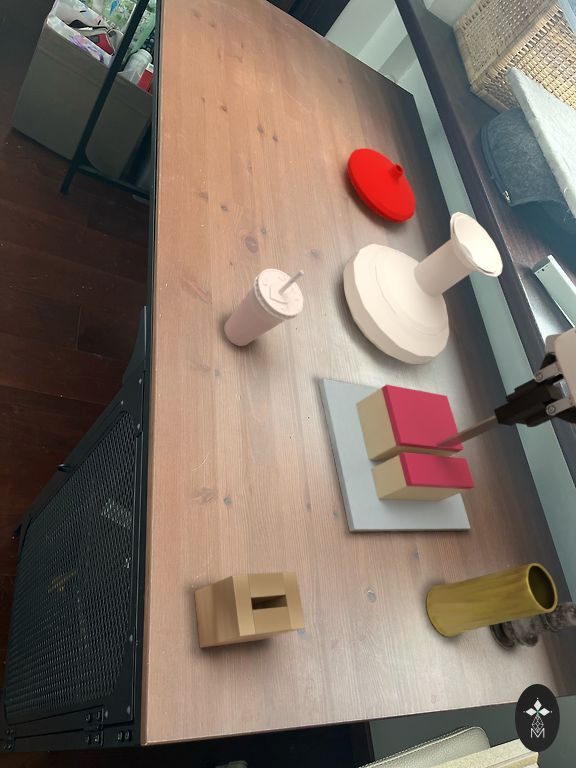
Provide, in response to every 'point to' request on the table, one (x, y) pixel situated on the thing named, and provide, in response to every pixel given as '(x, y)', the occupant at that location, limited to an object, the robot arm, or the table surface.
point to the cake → (406, 423)
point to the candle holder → (414, 290)
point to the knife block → (248, 608)
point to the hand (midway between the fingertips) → (517, 410)
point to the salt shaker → (534, 626)
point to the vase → (491, 599)
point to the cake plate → (358, 477)
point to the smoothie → (265, 306)
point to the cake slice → (421, 477)
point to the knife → (506, 413)
